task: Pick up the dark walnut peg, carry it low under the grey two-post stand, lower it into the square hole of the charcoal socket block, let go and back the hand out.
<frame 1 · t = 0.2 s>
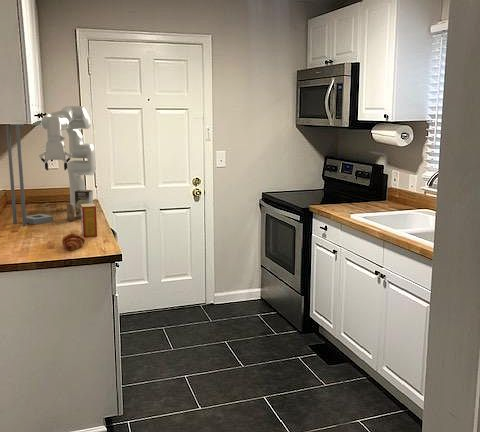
hand: (56, 170, 296), 30 cm above the counter, tool pointing down, fingers open, 9 cm apart
coffee box: (84, 217, 319), on the counter
peg: (71, 221, 306), on the counter
croissant: (73, 247, 247), on the counter
socket: (38, 221, 304), on the counter
grey two-post stand: (29, 222, 300), on the counter
baking soda box: (89, 235, 270), on the counter
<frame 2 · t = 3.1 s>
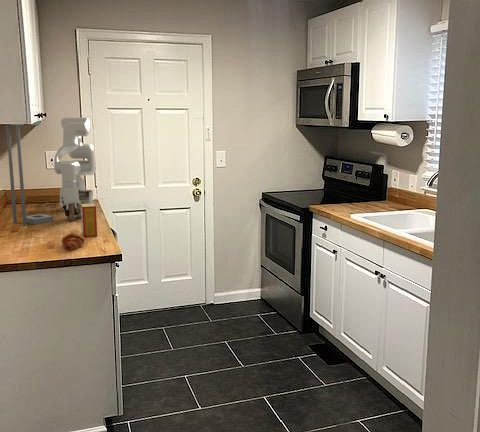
hand: (70, 215, 305), 3 cm above the counter, tool pointing down, fingers closed on peg, 4 cm apart
peg: (71, 221, 306), on the counter, touching gripper
everything else where it was.
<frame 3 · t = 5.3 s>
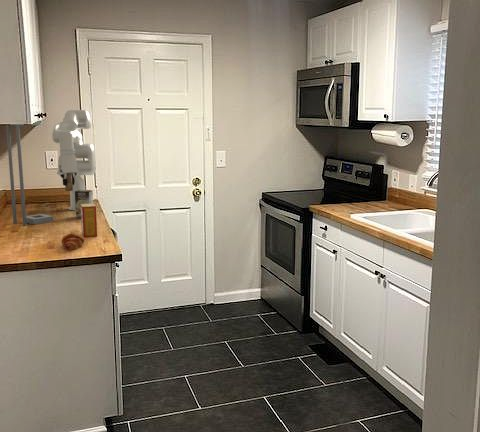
hand: (68, 184, 302), 21 cm above the counter, tool pointing down, fingers closed on peg, 4 cm apart
peg: (69, 190, 303), point 18 cm above the counter, touching gripper
everything else where it was.
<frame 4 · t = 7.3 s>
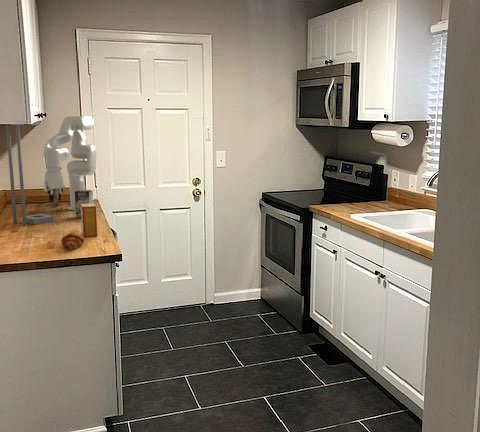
hand: (55, 200, 310), 11 cm above the counter, tool pointing down, fingers closed on peg, 4 cm apart
peg: (55, 206, 311), point 8 cm above the counter, touching gripper
everything else where it was.
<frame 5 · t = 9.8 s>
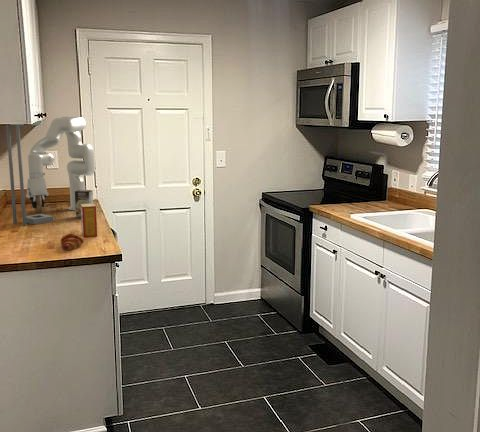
hand: (38, 207, 302), 8 cm above the counter, tool pointing down, fingers closed on peg, 4 cm apart
peg: (38, 212, 303), point 5 cm above the counter, touching gripper
everything else where it was.
when the fingers open (4 cm above the counter, at t = 11.7 s): peg stays where it is, resting in socket.
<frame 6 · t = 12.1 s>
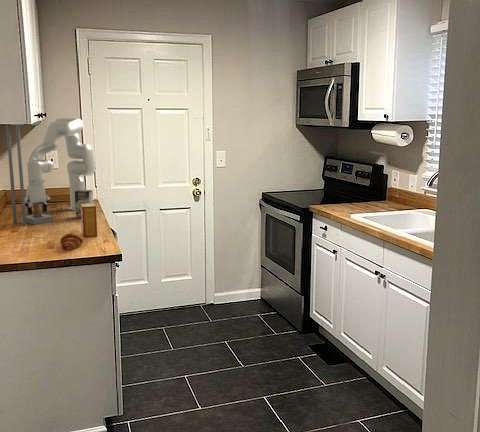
hand: (37, 212, 303), 5 cm above the counter, tool pointing down, fingers open, 8 cm apart
peg: (38, 221, 304), resting in socket
everything else where it was.
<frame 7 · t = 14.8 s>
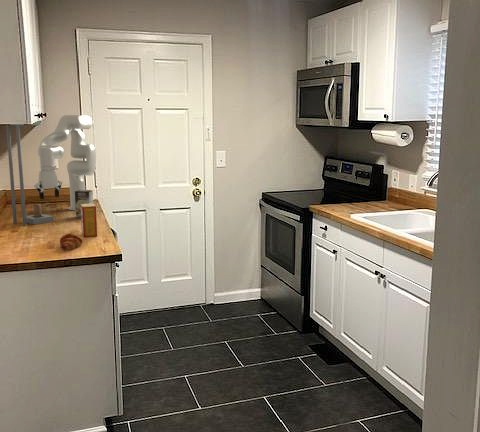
hand: (49, 197, 308), 13 cm above the counter, tool pointing down, fingers open, 9 cm apart
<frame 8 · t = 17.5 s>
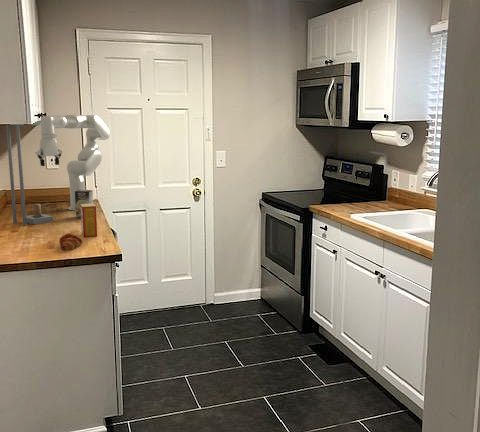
hand: (50, 165, 320), 30 cm above the counter, tool pointing down, fingers open, 9 cm apart
at the end: peg 0.0 cm off-centre on the socket, point 0.0 cm above the socket's base; peg tilted 1°; the gripper is holding nothing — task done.
